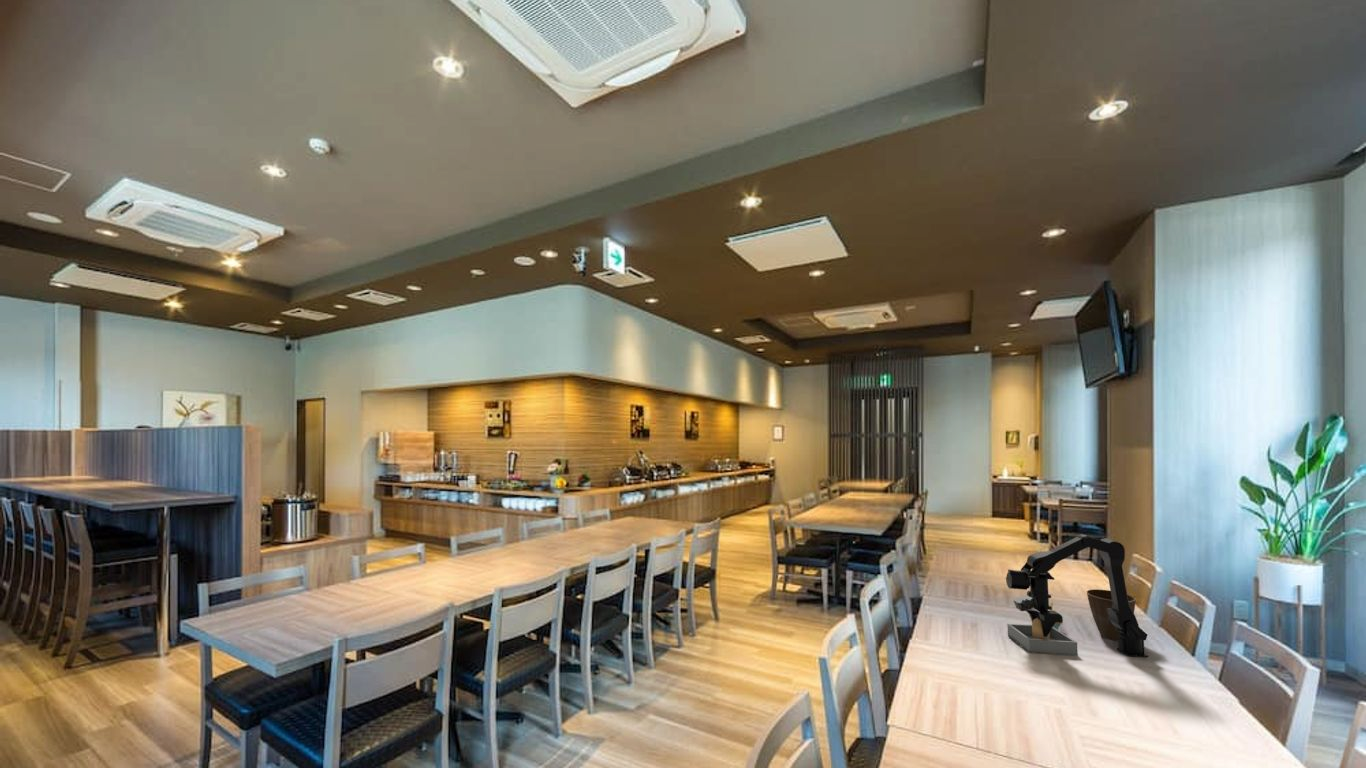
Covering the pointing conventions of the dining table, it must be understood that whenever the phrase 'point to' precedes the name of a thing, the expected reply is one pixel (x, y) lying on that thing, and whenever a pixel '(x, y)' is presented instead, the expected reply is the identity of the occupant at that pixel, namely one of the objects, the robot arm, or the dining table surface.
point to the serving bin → (1042, 641)
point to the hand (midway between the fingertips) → (1040, 633)
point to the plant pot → (1105, 612)
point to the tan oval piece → (1038, 630)
